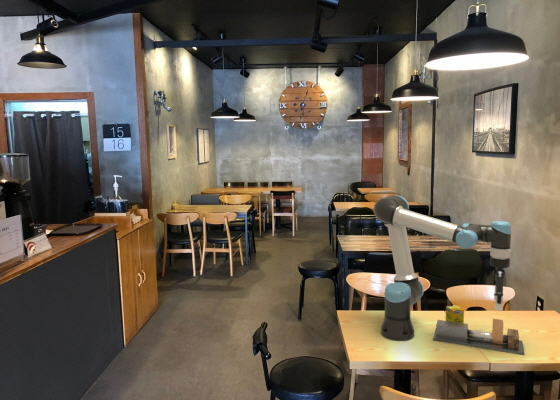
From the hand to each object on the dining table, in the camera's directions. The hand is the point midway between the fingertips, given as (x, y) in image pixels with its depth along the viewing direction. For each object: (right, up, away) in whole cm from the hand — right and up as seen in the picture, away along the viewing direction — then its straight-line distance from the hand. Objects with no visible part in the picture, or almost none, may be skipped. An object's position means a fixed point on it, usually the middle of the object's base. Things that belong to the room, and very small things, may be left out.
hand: (498, 305), depth 183 cm
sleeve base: (-7, -18, +5) cm, 20 cm away
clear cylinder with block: (-3, -17, +4) cm, 17 cm away
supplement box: (-11, -17, +19) cm, 28 cm away
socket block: (+6, -17, -1) cm, 18 cm away
